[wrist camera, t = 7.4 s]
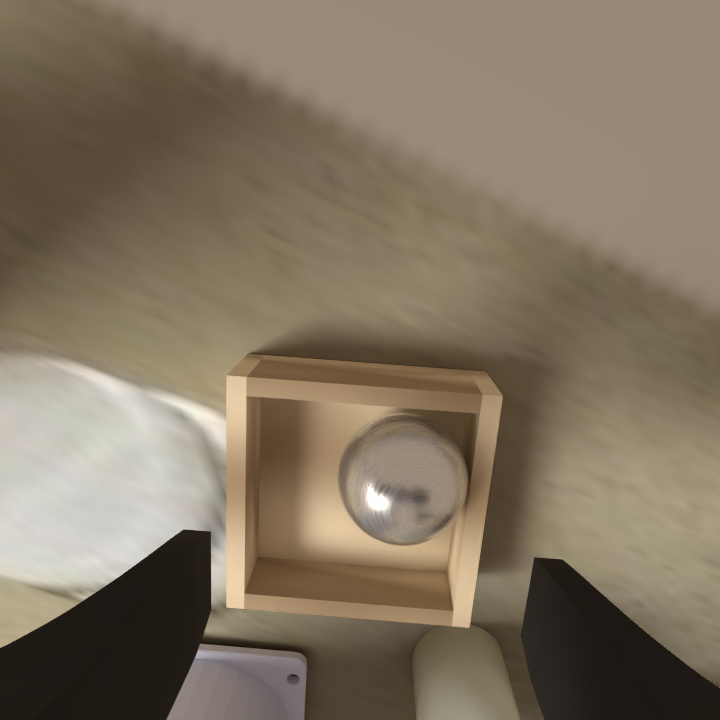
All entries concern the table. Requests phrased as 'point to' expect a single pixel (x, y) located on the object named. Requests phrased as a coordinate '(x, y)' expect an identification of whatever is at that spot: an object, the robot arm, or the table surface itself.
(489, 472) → the tray
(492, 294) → the table surface
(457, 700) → the shaker
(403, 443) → the ball
